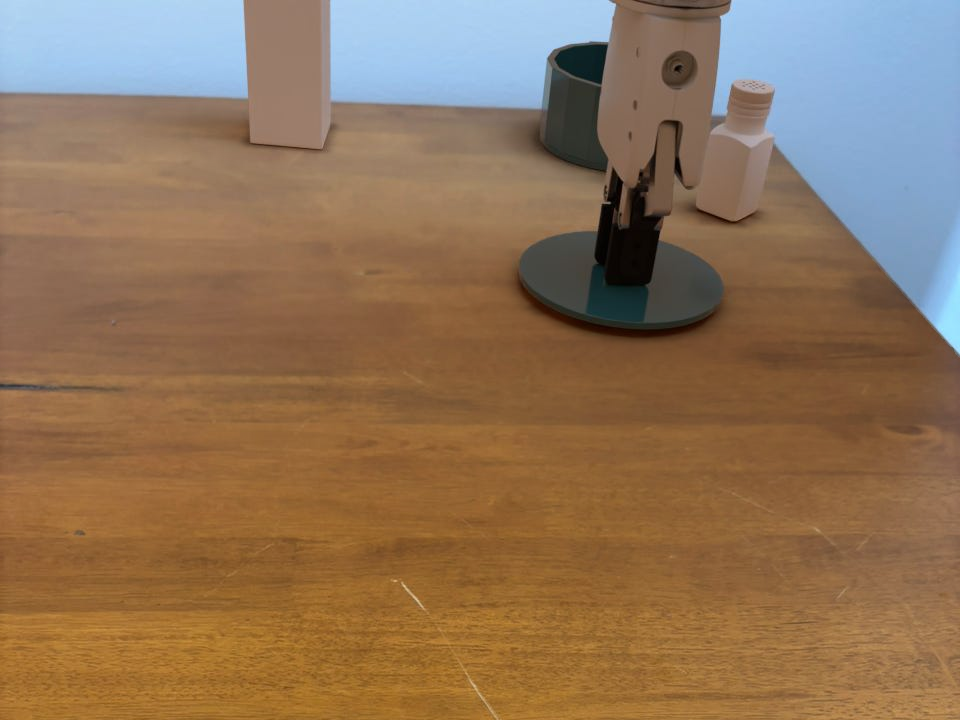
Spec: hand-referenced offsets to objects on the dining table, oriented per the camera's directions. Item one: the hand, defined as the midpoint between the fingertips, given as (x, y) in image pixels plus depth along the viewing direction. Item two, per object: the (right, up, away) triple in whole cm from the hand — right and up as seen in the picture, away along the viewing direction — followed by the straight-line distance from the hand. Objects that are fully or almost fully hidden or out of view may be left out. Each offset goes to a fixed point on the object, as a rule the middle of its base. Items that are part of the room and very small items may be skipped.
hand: (621, 269), depth 81 cm
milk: (-26, +17, +18) cm, 36 cm away
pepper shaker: (+10, +9, +13) cm, 19 cm away
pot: (+2, +18, +22) cm, 29 cm away
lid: (0, -1, +1) cm, 1 cm away
